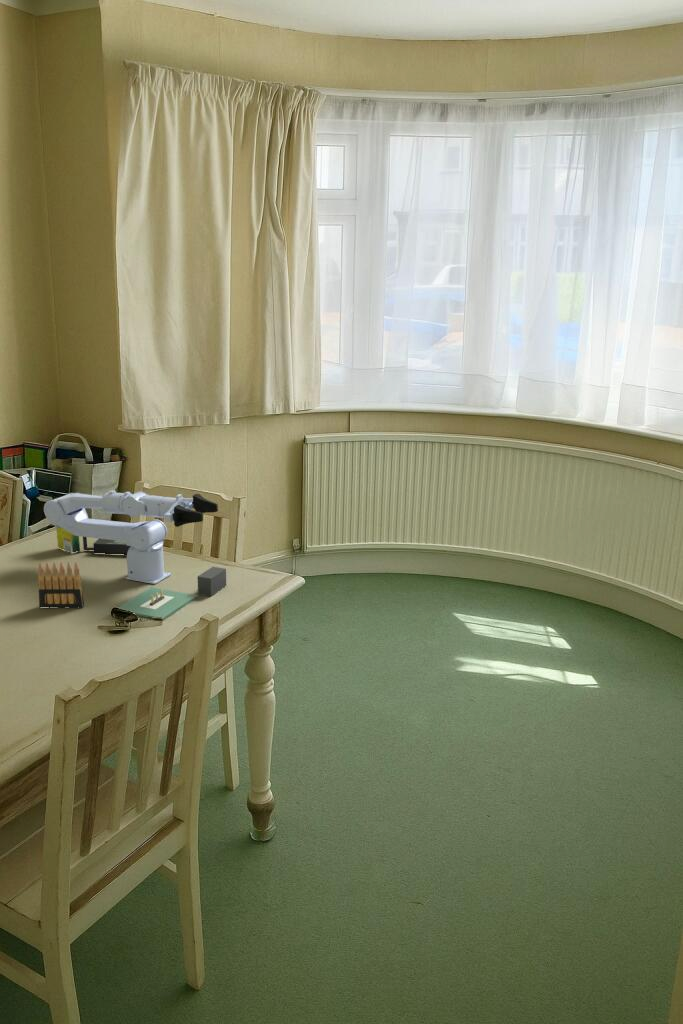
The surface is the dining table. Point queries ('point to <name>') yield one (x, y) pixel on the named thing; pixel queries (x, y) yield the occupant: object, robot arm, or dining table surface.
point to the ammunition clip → (60, 587)
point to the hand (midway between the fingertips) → (209, 512)
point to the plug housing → (211, 581)
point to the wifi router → (107, 546)
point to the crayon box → (67, 540)
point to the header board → (158, 603)
